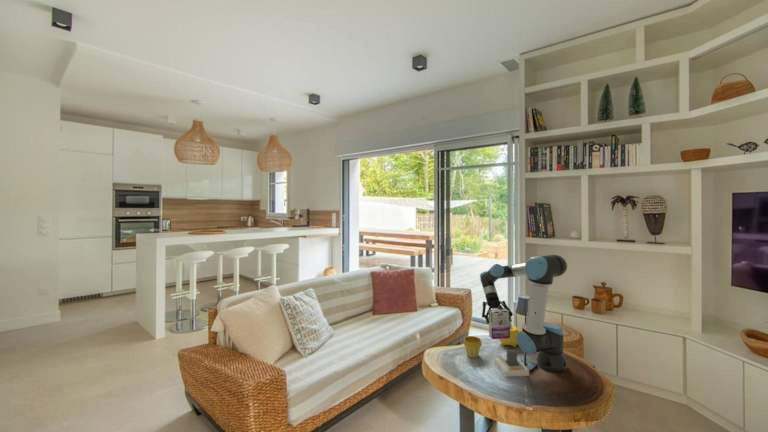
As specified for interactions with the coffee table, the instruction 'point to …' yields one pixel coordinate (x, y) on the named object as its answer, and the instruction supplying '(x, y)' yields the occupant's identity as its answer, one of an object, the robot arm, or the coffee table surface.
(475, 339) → the plant pot
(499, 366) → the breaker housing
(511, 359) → the block
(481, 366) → the coffee table surface
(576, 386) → the coffee table surface
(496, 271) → the robot arm
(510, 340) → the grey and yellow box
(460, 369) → the coffee table surface
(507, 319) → the candy bar box
